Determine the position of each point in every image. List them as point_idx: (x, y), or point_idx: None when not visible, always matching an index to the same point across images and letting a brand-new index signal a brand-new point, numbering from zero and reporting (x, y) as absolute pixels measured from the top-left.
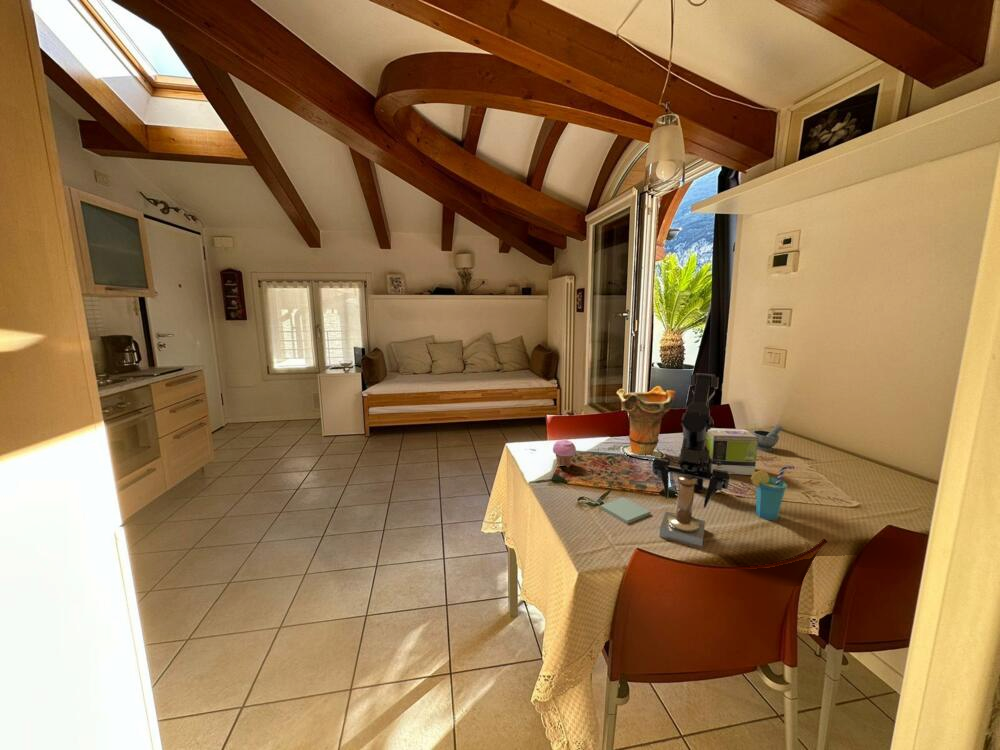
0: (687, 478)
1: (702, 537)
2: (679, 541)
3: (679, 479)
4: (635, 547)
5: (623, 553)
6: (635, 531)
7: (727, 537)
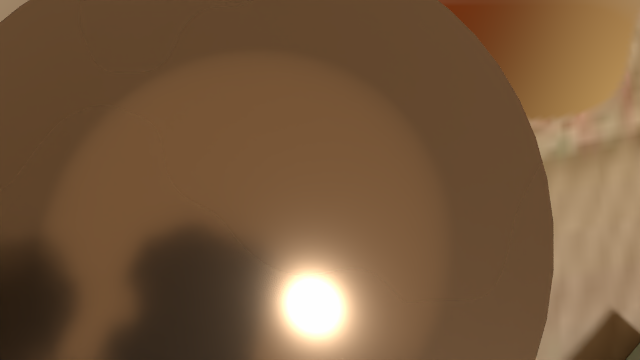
0: (229, 148)
1: None
2: None
3: (497, 111)
4: (577, 121)
5: (630, 65)
6: (585, 276)
7: None
